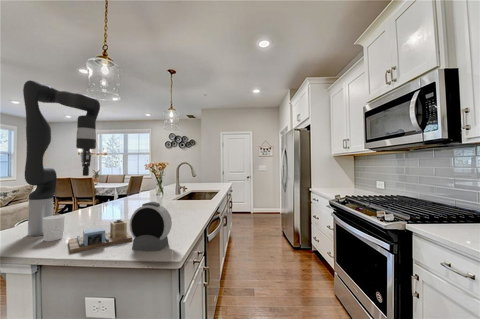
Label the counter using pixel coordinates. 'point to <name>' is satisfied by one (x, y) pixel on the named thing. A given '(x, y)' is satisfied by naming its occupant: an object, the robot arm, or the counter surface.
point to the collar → (118, 229)
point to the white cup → (53, 227)
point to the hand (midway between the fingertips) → (85, 175)
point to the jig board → (96, 242)
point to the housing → (93, 235)
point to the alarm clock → (150, 227)
